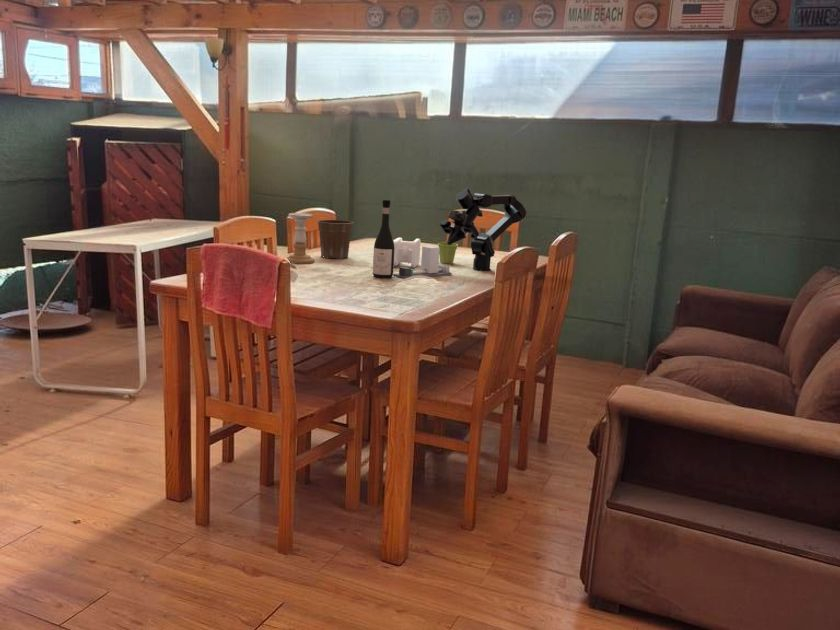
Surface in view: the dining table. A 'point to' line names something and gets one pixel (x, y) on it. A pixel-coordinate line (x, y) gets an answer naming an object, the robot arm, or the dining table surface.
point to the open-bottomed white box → (430, 259)
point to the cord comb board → (422, 272)
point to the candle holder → (300, 239)
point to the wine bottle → (384, 247)
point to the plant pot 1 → (335, 237)
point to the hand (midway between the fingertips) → (448, 244)
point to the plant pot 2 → (447, 252)
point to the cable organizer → (406, 252)
